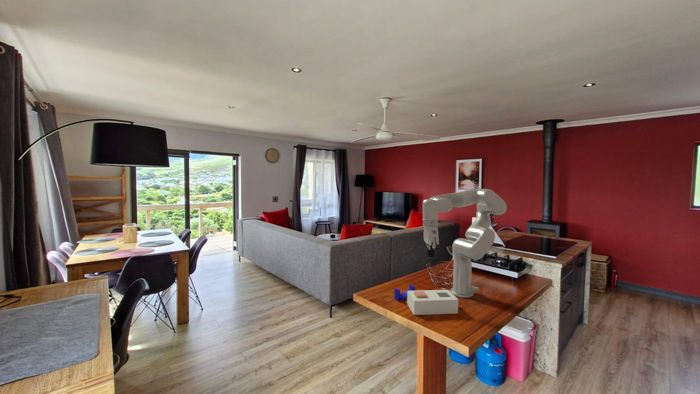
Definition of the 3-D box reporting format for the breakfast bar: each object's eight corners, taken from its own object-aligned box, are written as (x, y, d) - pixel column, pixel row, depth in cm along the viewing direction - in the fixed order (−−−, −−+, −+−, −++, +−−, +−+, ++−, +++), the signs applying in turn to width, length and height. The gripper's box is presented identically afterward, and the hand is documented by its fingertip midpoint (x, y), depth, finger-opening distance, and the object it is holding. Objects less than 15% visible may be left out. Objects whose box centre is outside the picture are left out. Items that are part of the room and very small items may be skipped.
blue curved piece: (409, 294, 163) (410, 283, 162) (415, 297, 159) (415, 286, 158) (392, 298, 157) (392, 287, 157) (397, 301, 153) (397, 290, 153)
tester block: (447, 302, 152) (448, 289, 151) (457, 313, 140) (458, 299, 140) (407, 303, 150) (407, 290, 150) (414, 314, 138) (414, 300, 138)
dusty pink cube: (423, 303, 147) (423, 291, 147) (426, 307, 142) (427, 295, 142) (413, 303, 147) (414, 291, 146) (416, 308, 142) (417, 295, 141)
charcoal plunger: (445, 304, 148) (446, 292, 148) (449, 309, 143) (450, 296, 143) (436, 305, 148) (436, 292, 147) (440, 309, 143) (440, 296, 142)
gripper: (443, 224, 144) (443, 260, 145) (431, 219, 158) (431, 251, 160) (428, 225, 143) (429, 261, 145) (418, 220, 158) (419, 252, 159)
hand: (430, 256), depth 152 cm, fingers closed
